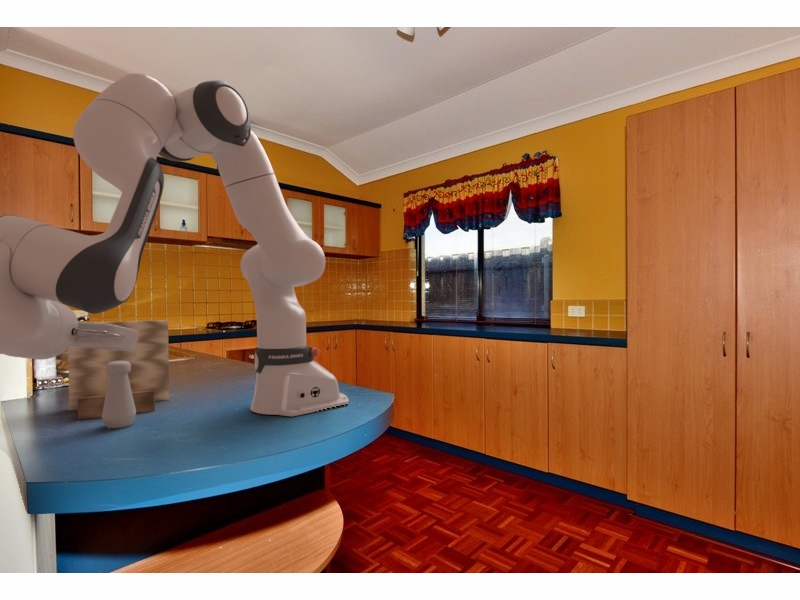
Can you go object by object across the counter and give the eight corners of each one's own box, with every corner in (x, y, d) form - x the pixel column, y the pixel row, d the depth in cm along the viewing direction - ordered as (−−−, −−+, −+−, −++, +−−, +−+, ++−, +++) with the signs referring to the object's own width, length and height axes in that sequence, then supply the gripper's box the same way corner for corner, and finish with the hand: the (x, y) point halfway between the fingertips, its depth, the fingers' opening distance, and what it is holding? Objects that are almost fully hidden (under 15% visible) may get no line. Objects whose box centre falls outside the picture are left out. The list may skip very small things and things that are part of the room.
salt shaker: (143, 421, 86) (142, 359, 86) (122, 430, 81) (121, 363, 81) (117, 420, 87) (116, 359, 87) (94, 429, 81) (93, 363, 81)
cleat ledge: (155, 401, 103) (155, 383, 103) (154, 410, 95) (154, 390, 95) (85, 409, 96) (85, 389, 96) (77, 420, 88) (77, 398, 88)
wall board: (169, 397, 107) (168, 320, 106) (169, 399, 105) (168, 320, 105) (70, 408, 97) (69, 323, 96) (69, 410, 95) (67, 323, 95)
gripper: (121, 314, 63) (154, 327, 77) (-35, 300, 60) (29, 317, 73) (112, 355, 62) (148, 361, 75) (-48, 344, 58) (19, 353, 72)
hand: (88, 339), depth 74 cm, fingers open, 8 cm apart
